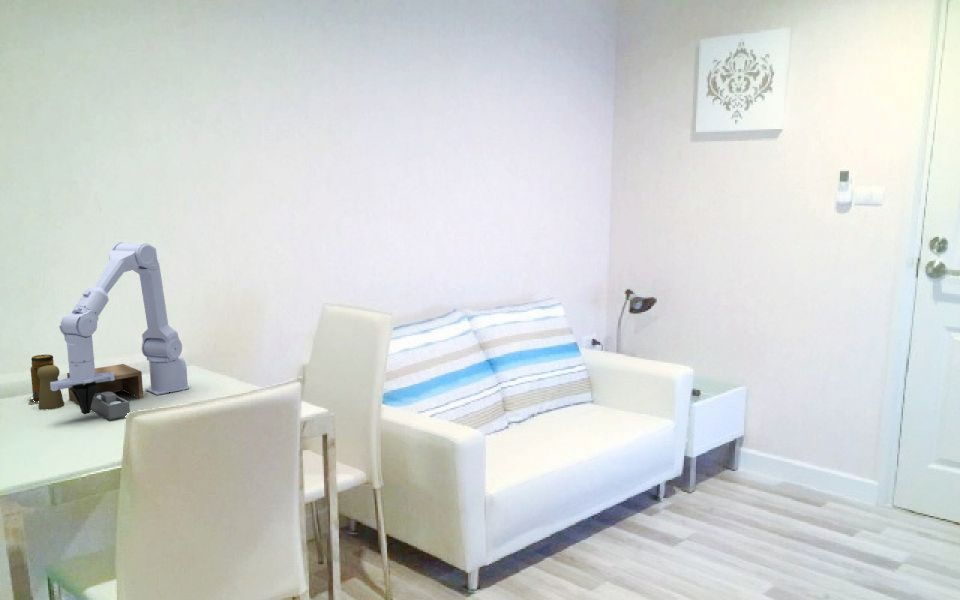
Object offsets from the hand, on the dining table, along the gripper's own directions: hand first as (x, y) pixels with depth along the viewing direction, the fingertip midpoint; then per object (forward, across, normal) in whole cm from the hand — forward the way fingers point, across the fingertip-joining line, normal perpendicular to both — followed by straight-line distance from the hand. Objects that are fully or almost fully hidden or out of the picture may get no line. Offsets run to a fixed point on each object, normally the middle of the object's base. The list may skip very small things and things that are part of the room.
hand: (85, 412), depth 197 cm
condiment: (+2, -2, +27) cm, 27 cm away
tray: (+1, +6, 0) cm, 6 cm away
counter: (+1, +10, +15) cm, 18 cm away
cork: (+2, -3, +18) cm, 18 cm away
